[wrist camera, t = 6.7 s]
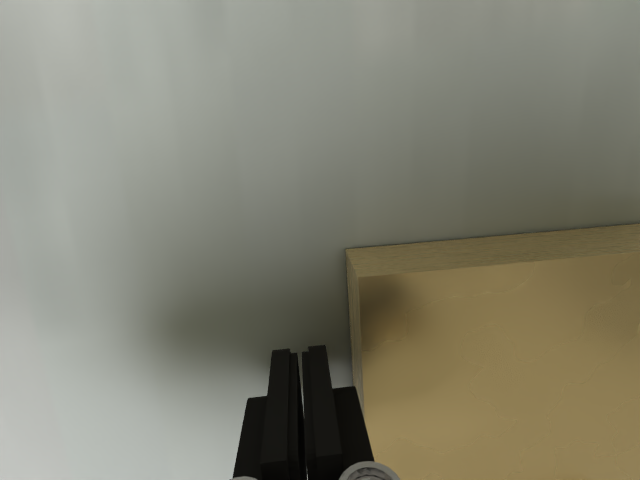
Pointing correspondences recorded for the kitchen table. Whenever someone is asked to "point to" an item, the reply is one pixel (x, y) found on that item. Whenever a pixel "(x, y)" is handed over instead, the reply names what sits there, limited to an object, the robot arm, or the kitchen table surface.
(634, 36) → the kitchen table surface
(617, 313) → the brass leaf
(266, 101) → the kitchen table surface
